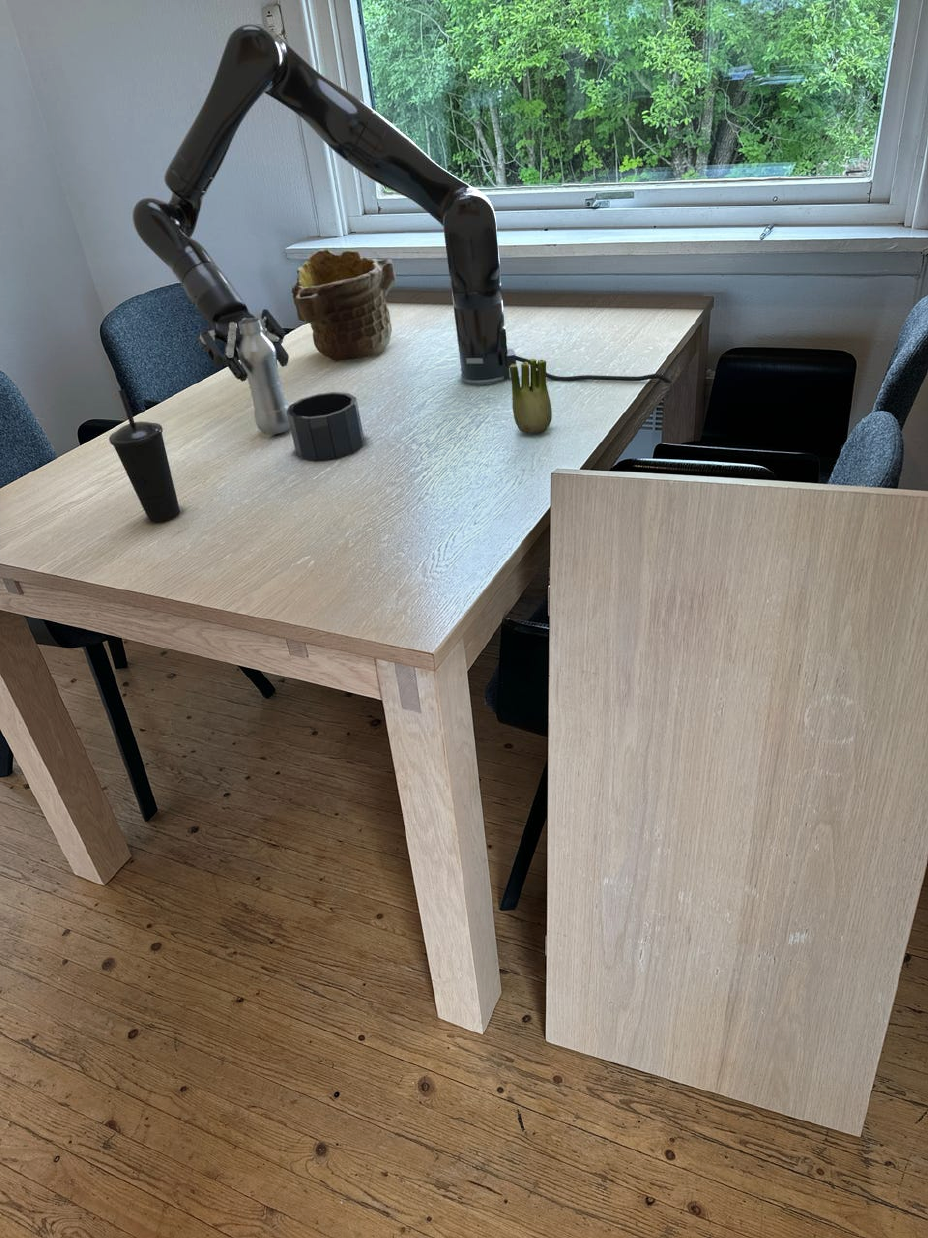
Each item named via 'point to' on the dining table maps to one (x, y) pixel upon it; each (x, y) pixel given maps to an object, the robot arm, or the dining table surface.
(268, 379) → the silver water bottle
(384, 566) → the dining table surface
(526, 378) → the fennel bulb
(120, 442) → the drinking cup
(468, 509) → the dining table surface
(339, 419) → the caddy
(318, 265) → the ceramic vessel
